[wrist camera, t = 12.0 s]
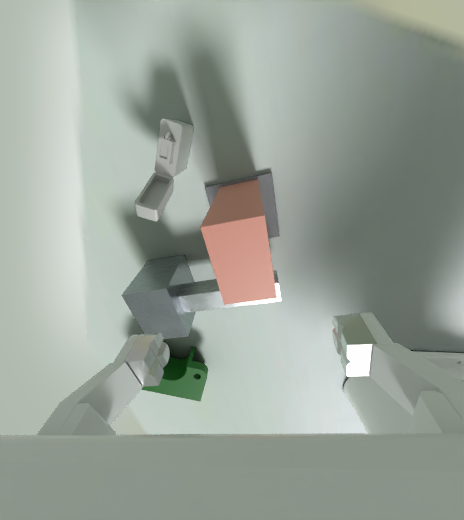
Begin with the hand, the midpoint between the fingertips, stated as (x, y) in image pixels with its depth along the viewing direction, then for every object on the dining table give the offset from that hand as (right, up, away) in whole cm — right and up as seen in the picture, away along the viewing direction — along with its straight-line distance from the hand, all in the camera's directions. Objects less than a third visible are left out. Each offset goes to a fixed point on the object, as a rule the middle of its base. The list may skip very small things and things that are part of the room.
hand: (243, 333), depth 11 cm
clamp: (-10, -12, +28) cm, 32 cm away
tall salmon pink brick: (+1, +9, +14) cm, 16 cm away
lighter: (-6, +14, +12) cm, 19 cm away
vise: (-3, +2, +19) cm, 19 cm away
